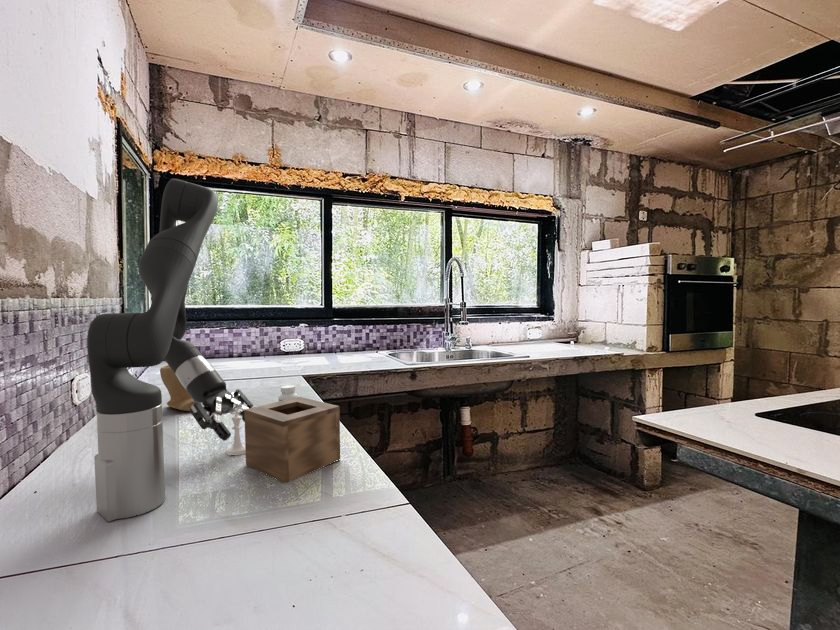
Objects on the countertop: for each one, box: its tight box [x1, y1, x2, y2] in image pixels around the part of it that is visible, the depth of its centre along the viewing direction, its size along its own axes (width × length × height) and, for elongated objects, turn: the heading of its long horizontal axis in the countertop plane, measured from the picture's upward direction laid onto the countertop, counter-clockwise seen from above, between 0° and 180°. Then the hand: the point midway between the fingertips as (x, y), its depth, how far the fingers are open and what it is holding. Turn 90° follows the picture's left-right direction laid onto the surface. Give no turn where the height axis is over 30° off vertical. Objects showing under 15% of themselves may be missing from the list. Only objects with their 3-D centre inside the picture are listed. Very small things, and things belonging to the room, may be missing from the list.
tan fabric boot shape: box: [159, 364, 195, 412], centre depth 135 cm, size 15×12×15 cm
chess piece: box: [225, 409, 246, 456], centre depth 98 cm, size 5×5×10 cm
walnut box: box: [244, 396, 341, 484], centre depth 91 cm, size 14×14×12 cm
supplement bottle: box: [278, 384, 299, 402], centre depth 123 cm, size 5×5×10 cm
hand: (241, 432), depth 98 cm, fingers open, 8 cm apart
